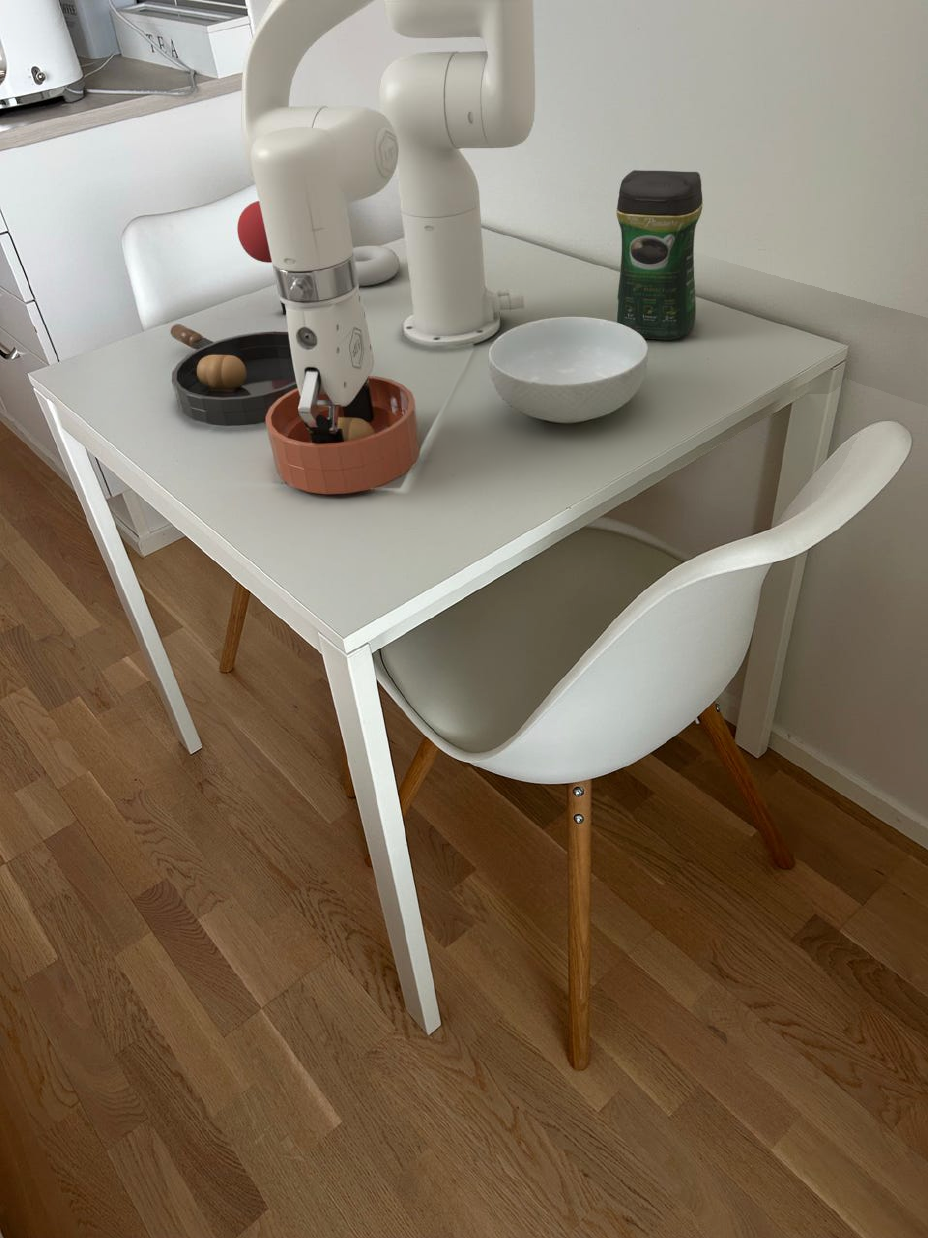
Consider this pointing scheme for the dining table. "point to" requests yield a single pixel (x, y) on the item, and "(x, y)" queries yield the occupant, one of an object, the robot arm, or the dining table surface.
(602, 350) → the cereal bowl
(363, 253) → the donut
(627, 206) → the coffee jar
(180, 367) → the skillet
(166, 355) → the dining table surface
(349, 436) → the potato
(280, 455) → the bowl
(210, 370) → the potato
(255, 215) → the lollipop
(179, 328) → the skillet handle
